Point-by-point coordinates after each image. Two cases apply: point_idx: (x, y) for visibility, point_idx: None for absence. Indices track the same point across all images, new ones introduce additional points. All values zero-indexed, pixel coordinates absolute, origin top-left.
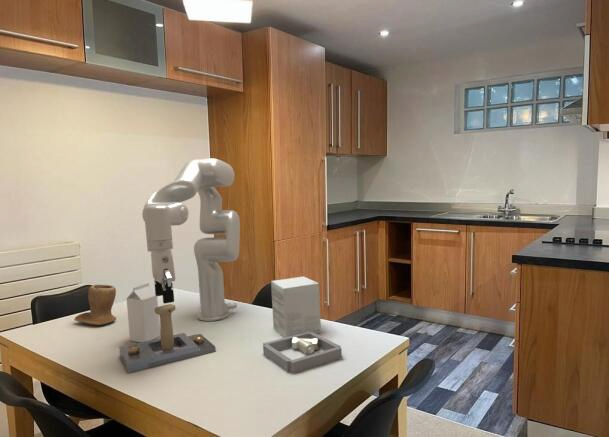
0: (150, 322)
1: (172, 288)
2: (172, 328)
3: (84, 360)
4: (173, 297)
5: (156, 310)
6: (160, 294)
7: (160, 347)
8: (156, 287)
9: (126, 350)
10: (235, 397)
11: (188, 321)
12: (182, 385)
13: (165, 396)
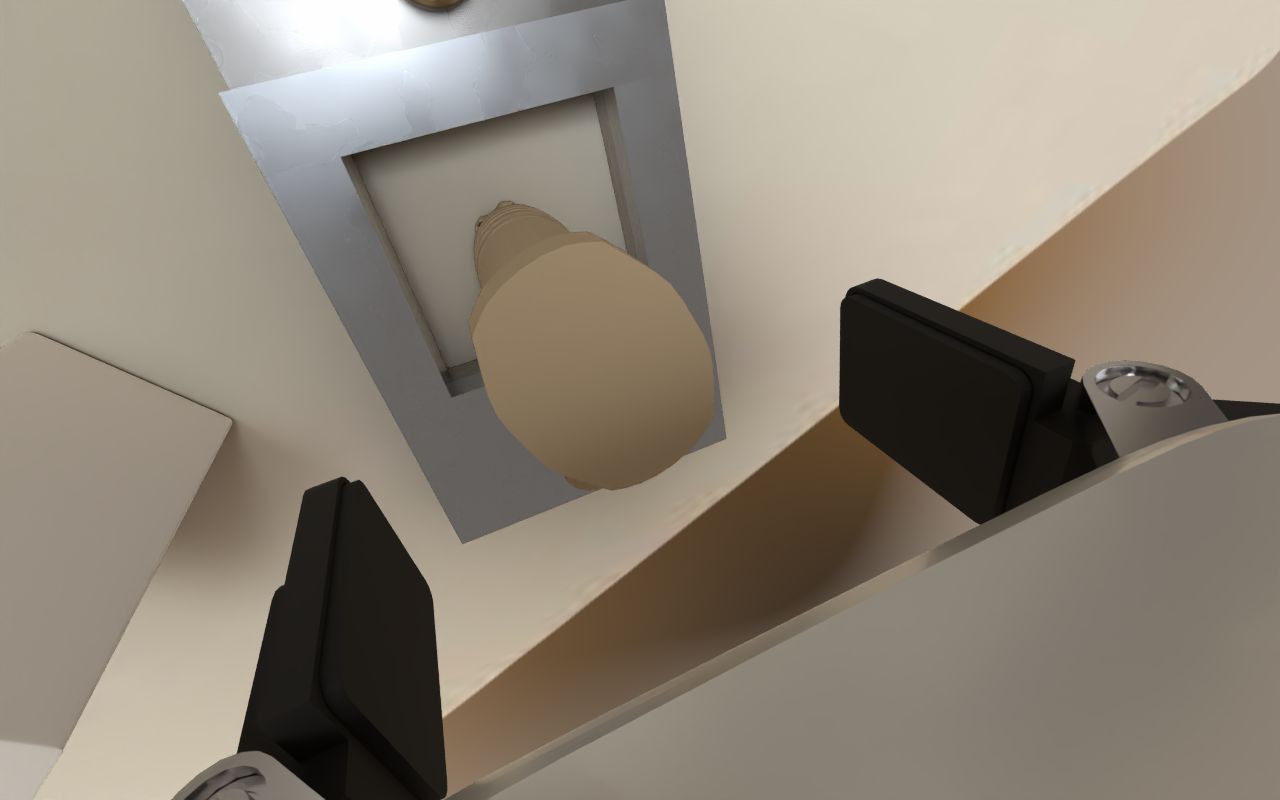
0: (84, 471)
1: (1151, 376)
2: (555, 233)
3: (457, 639)
4: (920, 303)
5: (678, 453)
6: (402, 558)
7: (413, 300)
8: (434, 731)
9: (537, 491)
10: None
11: None
12: (952, 153)
13: (988, 229)
